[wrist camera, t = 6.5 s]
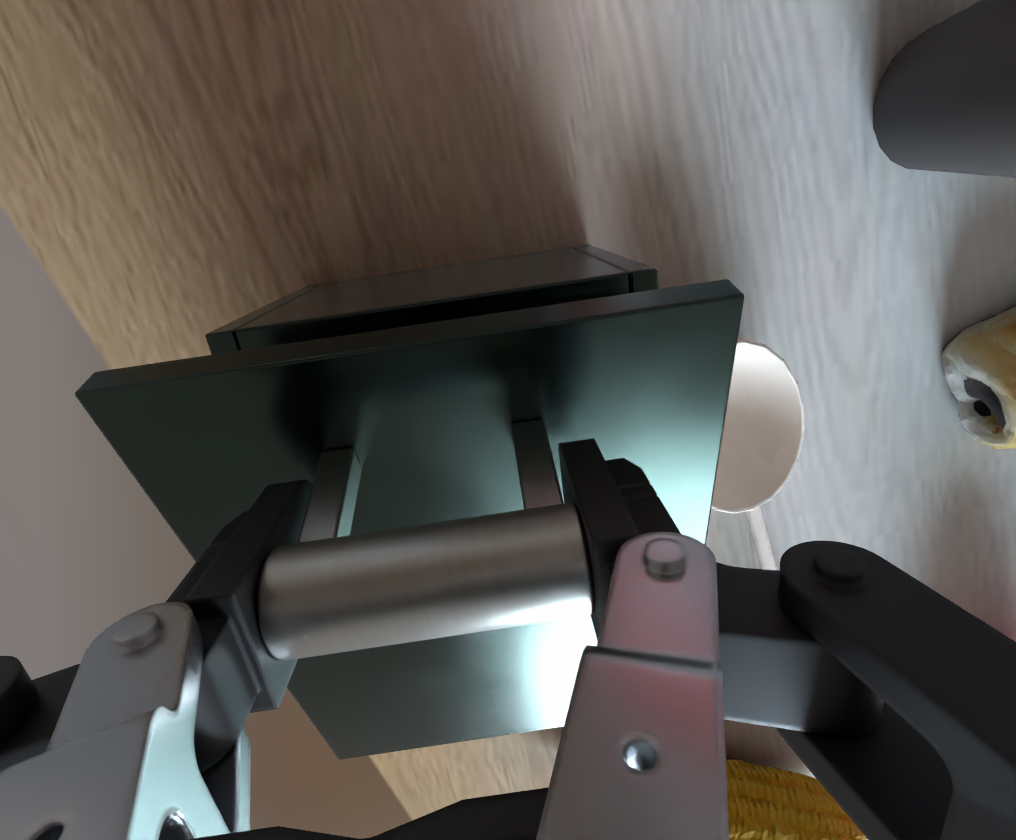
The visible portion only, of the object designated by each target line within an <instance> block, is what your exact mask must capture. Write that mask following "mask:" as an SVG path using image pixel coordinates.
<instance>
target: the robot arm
mask: <svg viewBox="0 0 1016 840" xmlns="http://www.w3.org/2000/svg"><path fill="white" fill-rule="evenodd" d="M558 451H559V461H560V470H561V479H562V488H563V498H564V503H574V504H575V505H576V507H577V508H578V511H579V513H580V516H581V520H582V524H583V528H584V532H585V536H586V541H587V546H588V551H589V557H590V563H591V570H592V577H593V585H594V596H595V608H594V613H593V614H592V615H591V619H592V623H593V626H594V630H595V634H596V637H597V641H598V642H597V646H592V645H587V646H586V647H585V648H584V650H583V653H582V656H581V659H580V663H579V667H578V671H577V675H576V679H575V683H574V687H573V691H572V695H571V699H570V703H569V707H568V711H567V716H566V720H565V724H564V728H563V732H562V736H561V740H560V744H559V748H558V752H557V756H556V760H555V764H554V768H553V772H552V776H551V780H550V784H549V788H542V789H535V790H528V791H521V792H514V793H507V794H500V795H493V796H486V797H479V798H472V799H465V800H461V801H459V802H456V803H454V804H452V805H449V806H447V807H444V808H442V809H439V810H437V811H435V812H432V813H430V814H427V815H425V816H423V817H420V818H418V819H415V820H413V821H411V822H408V823H406V824H403V825H401V826H398V827H396V828H394V829H391V830H389V831H386V832H384V833H382V834H379V835H377V836H374V837H371V838H365V839H356V838H350V837H343V836H337V835H331V834H324V833H317V832H311V831H305V830H299V829H292V828H286V827H279V826H278V827H270V828H263V829H256V830H250V742H249V739H248V737H247V734H246V732H245V730H244V727H243V726H244V724H245V722H246V719H247V717H248V715H249V713H253V712H259V711H266V710H273V709H279V706H280V704H281V701H282V698H283V696H284V693H285V690H286V688H287V685H288V683H289V680H290V678H291V675H292V673H293V670H294V667H295V665H296V662H297V660H298V659H293V660H286V661H283V660H279V659H276V658H274V657H273V656H272V655H271V654H270V653H269V651H268V650H267V648H266V646H265V644H264V642H263V639H262V636H261V632H260V628H259V623H258V615H257V589H258V581H259V576H260V572H261V569H262V566H263V563H264V561H265V559H266V557H267V556H268V554H269V553H270V552H271V551H272V550H273V549H274V548H276V547H278V546H280V545H287V544H294V543H297V541H298V538H299V534H300V530H301V527H302V523H303V519H304V516H305V512H306V508H307V505H308V501H309V498H310V494H311V490H312V485H311V483H310V482H309V481H308V480H306V479H304V480H297V481H290V482H283V483H276V484H270V485H267V486H266V487H265V489H264V490H263V492H262V493H261V494H260V496H259V497H258V498H257V500H256V501H255V503H254V504H253V505H252V507H251V508H250V510H249V511H247V512H243V513H242V514H241V515H239V516H238V517H237V518H235V519H234V520H233V521H231V522H230V523H228V524H227V525H226V526H224V527H223V528H222V529H221V531H220V532H219V533H218V535H217V536H216V537H215V539H214V540H213V541H212V542H211V544H210V548H207V549H206V550H205V552H204V553H203V554H202V555H201V557H200V558H199V562H196V563H195V565H194V566H193V567H192V569H191V570H190V571H189V572H188V574H187V575H186V576H185V578H184V579H183V580H182V582H181V583H180V584H179V585H178V587H177V588H176V589H175V591H174V592H173V593H172V595H171V596H170V597H169V599H168V600H167V601H166V602H165V603H160V604H155V605H152V606H148V607H146V608H143V609H140V610H138V611H136V612H134V613H131V614H129V615H127V616H126V617H124V618H122V619H120V620H119V621H117V622H115V623H114V624H112V625H111V626H110V627H108V628H107V629H106V630H104V631H103V632H102V633H101V634H100V635H99V636H97V637H96V638H95V640H94V641H93V642H92V643H91V644H90V646H89V647H88V648H87V650H86V652H85V654H84V656H83V659H82V661H81V663H80V664H78V665H75V666H72V667H69V668H66V669H63V670H60V671H57V672H54V673H52V674H49V675H46V676H43V677H40V678H37V679H34V680H31V679H30V677H29V675H28V674H27V673H26V671H25V669H24V667H23V666H22V664H21V662H20V661H19V660H18V659H17V658H15V657H11V656H0V840H729V823H728V798H727V773H726V748H725V722H724V719H725V720H731V721H738V722H744V723H751V724H757V725H764V726H770V727H775V728H776V729H777V731H778V733H779V734H780V735H781V737H782V738H783V739H784V740H785V742H786V743H787V744H788V745H789V746H790V747H791V749H792V750H793V751H794V752H795V753H796V755H797V756H798V757H799V758H800V759H801V760H802V762H803V763H804V764H805V765H806V766H807V768H808V769H809V770H810V771H811V772H812V773H813V775H814V776H815V777H816V778H817V779H818V781H819V782H820V783H821V784H822V785H823V786H824V788H825V789H826V790H827V791H828V792H829V794H830V795H831V796H832V797H833V798H834V799H835V801H836V802H837V803H838V804H839V805H840V807H841V808H842V809H843V810H844V811H845V812H846V814H847V815H848V816H849V817H850V818H851V820H852V821H853V822H854V823H855V824H856V825H857V827H858V828H859V829H860V830H861V831H862V833H863V834H864V835H865V836H866V837H867V838H868V839H869V840H1016V642H1015V641H1013V640H1012V639H1010V638H1008V637H1007V636H1005V635H1004V634H1002V633H1001V632H999V631H997V630H996V629H994V628H993V627H991V626H989V625H988V624H986V623H985V622H983V621H982V620H980V619H978V618H977V617H975V616H974V615H972V614H970V613H969V612H967V611H966V610H964V609H962V608H961V607H959V606H958V605H956V604H955V603H953V602H951V601H950V600H948V599H947V598H945V597H943V596H942V595H940V594H939V593H937V592H936V591H934V590H932V589H931V588H929V587H928V586H926V585H924V584H923V583H921V582H920V581H918V580H917V579H915V578H913V577H912V576H910V575H909V574H907V573H905V572H904V571H902V570H901V569H899V568H898V567H896V566H894V565H893V564H891V563H890V562H888V561H886V560H885V559H883V558H882V557H880V556H878V555H876V554H874V553H873V552H870V551H868V550H866V549H863V548H860V547H857V546H854V545H850V544H846V543H841V542H835V541H811V542H805V543H800V544H798V545H795V546H793V547H791V548H789V549H788V550H787V551H786V552H785V553H784V554H783V556H782V557H781V561H780V571H778V570H764V569H750V568H740V567H733V566H728V565H724V564H721V563H717V562H716V559H715V556H714V554H713V553H712V551H711V550H710V549H709V548H708V547H707V546H706V545H705V544H703V543H702V542H700V541H698V540H696V539H694V538H692V537H689V536H686V535H683V534H681V533H680V531H679V529H678V528H677V526H676V524H675V523H674V521H673V519H672V518H671V516H670V514H669V513H668V511H667V509H666V508H665V506H664V505H663V503H662V501H661V500H660V498H659V497H657V493H656V491H655V490H654V488H653V486H652V485H650V481H649V480H648V478H647V477H646V475H645V473H644V472H643V470H642V468H640V467H639V466H637V465H635V464H634V463H632V462H630V461H629V460H627V459H625V458H618V459H611V460H605V459H604V457H603V455H602V453H601V451H600V449H599V447H598V445H597V443H596V441H595V439H594V438H592V439H585V440H578V441H571V442H564V443H559V444H558Z"/></svg>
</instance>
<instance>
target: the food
mask: <svg viewBox="0 0 1016 840" xmlns="http://www.w3.org/2000/svg"><path fill="white" fill-rule="evenodd" d="M726 773H727V798H728V823H729V840H867V837H866V836H865V835H864V834H863V833H862V831H861V830H860V829H859V828H858V827H857V825H856V824H855V823H854V822H853V821H852V820H851V818H850V817H849V816H848V815H847V814H846V812H845V811H844V810H843V809H842V808H841V807H840V805H839V804H838V803H837V802H836V801H835V799H834V798H833V797H832V796H831V795H830V794H829V792H828V791H827V790H826V789H825V788H824V786H823V785H822V784H821V783H820V782H819V781H818V779H815V778H812V777H809V776H806V775H803V774H799V773H793V772H790V771H787V770H781V769H778V768H775V767H767V766H761V765H756V764H750V763H746V762H744V761H741V760H728V759H726Z"/></svg>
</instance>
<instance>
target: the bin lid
mask: <svg viewBox="0 0 1016 840" xmlns="http://www.w3.org/2000/svg"><path fill="white" fill-rule="evenodd" d="M743 302H744V295H743V293H742V292H741V291H740V290H739V289H738V288H737V287H736V286H735V285H734V284H733V283H732V282H731V281H730V280H727V279H725V280H718V281H711V282H704V283H697V284H691V285H684V286H677V287H670V288H663V289H657V290H650V291H643V292H636V293H629V294H623V295H616V296H609V297H602V298H595V299H589V300H582V301H575V302H568V303H561V304H555V305H548V306H541V307H534V308H527V309H521V310H514V311H507V312H500V313H493V314H487V315H480V316H473V317H466V318H459V319H453V320H446V321H439V322H432V323H426V324H419V325H412V326H405V327H398V328H392V329H385V330H378V331H371V332H364V333H358V334H351V335H344V336H337V337H330V338H324V339H317V340H310V341H303V342H296V343H290V344H283V345H276V346H269V347H262V348H256V349H249V350H242V351H235V352H228V353H222V354H215V355H208V356H201V357H194V358H188V359H181V360H174V361H167V362H160V363H154V364H147V365H140V366H133V367H127V368H120V369H113V370H107V371H100V372H95V373H93V374H92V375H91V377H90V378H89V379H88V380H87V381H86V382H85V383H84V384H83V385H82V386H81V387H80V388H79V389H78V390H77V391H76V392H75V395H76V397H77V399H78V400H79V401H80V403H81V404H82V406H83V407H84V408H85V410H86V411H87V412H88V414H89V415H90V417H91V418H92V419H93V421H94V422H95V424H96V425H97V426H98V427H99V429H100V430H101V432H102V433H103V435H104V436H105V437H106V439H107V440H108V441H109V443H110V444H111V445H112V447H113V448H114V450H115V451H116V452H117V454H118V455H119V457H120V458H121V459H122V461H123V462H124V464H125V465H126V466H127V468H128V469H129V470H130V472H131V473H132V474H133V476H134V477H135V478H136V480H137V481H138V483H139V484H140V486H141V487H142V488H143V490H144V491H145V492H146V494H147V495H148V496H149V498H150V499H151V501H152V502H153V504H154V505H155V506H156V507H157V509H158V510H159V512H160V513H161V515H162V516H163V517H164V519H165V520H166V521H167V523H168V524H169V525H170V527H171V528H172V530H173V531H174V532H175V534H176V535H177V537H178V538H179V539H180V541H181V542H182V543H183V545H184V546H185V547H186V549H187V550H188V552H189V553H190V554H191V556H192V557H193V559H194V560H195V561H196V562H199V558H200V557H201V555H202V554H203V553H204V552H205V550H206V549H207V548H210V544H211V542H212V541H213V540H214V539H215V537H216V536H217V535H218V533H219V532H220V531H221V529H222V528H223V527H224V526H226V525H227V524H228V523H230V522H231V521H233V520H234V519H235V518H237V517H238V516H239V515H241V514H242V513H243V512H247V511H249V510H250V508H251V507H252V505H253V504H254V503H255V501H256V500H257V498H258V497H259V496H260V494H261V493H262V492H263V490H264V489H265V487H266V486H267V485H270V484H276V483H283V482H290V481H297V480H304V479H306V480H308V481H309V482H310V483H311V485H312V490H311V494H310V498H309V501H308V505H307V508H306V512H305V516H304V519H303V523H302V527H301V530H300V534H299V538H298V541H297V543H294V544H287V545H280V546H278V547H276V548H274V549H273V550H272V551H271V552H270V553H269V554H268V556H267V557H266V559H265V561H264V563H263V566H262V569H261V572H260V576H259V581H258V589H257V615H258V623H259V628H260V632H261V636H262V639H263V642H264V644H265V646H266V648H267V650H268V651H269V653H270V654H271V655H272V656H273V657H274V658H276V659H279V660H283V661H286V660H293V659H298V660H297V662H296V665H295V667H294V670H293V673H292V675H291V678H290V680H289V683H288V685H287V688H288V690H289V691H290V692H291V694H292V695H293V697H294V698H295V699H296V701H297V702H298V703H299V705H300V706H301V708H302V709H303V710H304V712H305V713H306V714H307V716H308V717H309V718H310V720H311V721H312V723H313V724H314V725H315V726H316V728H317V730H318V731H319V732H320V734H321V735H322V737H323V738H324V739H325V741H326V742H327V743H328V745H329V746H330V748H331V749H332V750H333V752H334V753H335V754H336V756H337V757H338V758H339V759H347V758H353V757H360V756H367V755H374V754H381V753H387V752H394V751H401V750H408V749H414V748H421V747H428V746H435V745H441V744H448V743H455V742H461V741H468V740H475V739H482V738H488V737H495V736H502V735H509V734H515V733H522V732H529V731H536V730H542V729H549V728H556V727H563V726H564V724H565V720H566V716H567V711H568V707H569V703H570V699H571V695H572V691H573V687H574V683H575V679H576V675H577V671H578V667H579V663H580V659H581V656H582V653H583V650H584V648H585V647H586V646H587V645H592V646H597V642H598V641H597V637H596V634H595V630H594V626H593V623H592V619H591V615H592V614H593V613H594V608H595V596H594V585H593V577H592V570H591V563H590V557H589V551H588V546H587V541H586V536H585V532H584V528H583V524H582V520H581V516H580V513H579V511H578V508H577V507H576V505H575V504H574V503H564V498H563V488H562V479H561V470H560V461H559V451H558V444H559V443H564V442H571V441H578V440H585V439H592V438H594V439H595V441H596V443H597V445H598V447H599V449H600V451H601V453H602V455H603V457H604V459H605V460H611V459H618V458H625V459H627V460H629V461H630V462H632V463H634V464H635V465H637V466H639V467H640V468H642V470H643V472H644V473H645V475H646V477H647V478H648V480H649V481H650V485H652V486H653V488H654V490H655V491H656V493H657V497H659V498H660V500H661V501H662V503H663V505H664V506H665V508H666V509H667V511H668V513H669V514H670V516H671V518H672V519H673V521H674V523H675V524H676V526H677V528H678V529H679V531H680V533H681V534H683V535H686V536H689V537H692V538H694V539H696V540H698V541H700V542H702V543H703V544H705V545H706V538H707V532H708V525H709V519H710V513H711V506H712V500H713V493H714V487H715V481H716V474H717V468H718V461H719V455H720V449H721V442H722V436H723V430H724V423H725V417H726V410H727V404H728V398H729V391H730V385H731V378H732V372H733V366H734V359H735V353H736V346H737V340H738V334H739V327H740V321H741V314H742V308H743Z"/></svg>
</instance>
